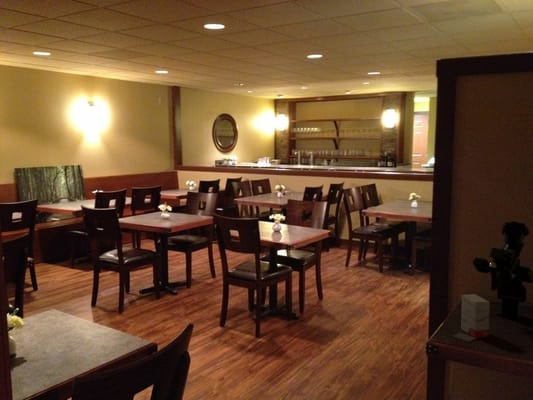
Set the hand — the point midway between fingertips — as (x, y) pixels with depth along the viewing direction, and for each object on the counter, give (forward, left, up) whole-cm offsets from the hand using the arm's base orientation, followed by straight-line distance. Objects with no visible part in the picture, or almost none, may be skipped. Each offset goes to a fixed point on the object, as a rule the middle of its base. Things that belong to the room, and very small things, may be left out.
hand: (492, 289), depth 155 cm
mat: (+16, 0, -13) cm, 21 cm away
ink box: (+10, 0, -13) cm, 16 cm away
